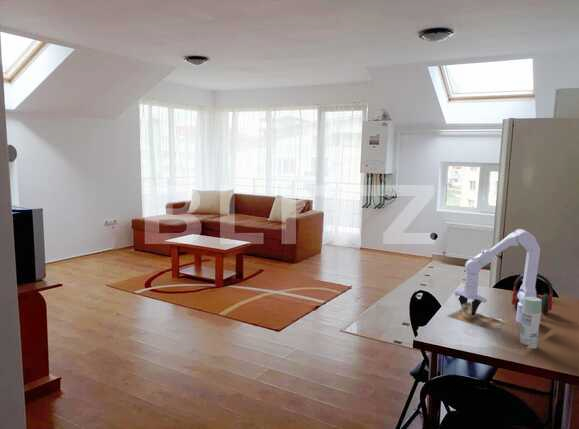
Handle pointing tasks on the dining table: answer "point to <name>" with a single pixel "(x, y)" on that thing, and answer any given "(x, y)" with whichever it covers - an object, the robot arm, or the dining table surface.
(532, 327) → the spray paint can
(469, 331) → the dining table surface
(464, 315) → the block
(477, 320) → the walnut board
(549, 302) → the headphones
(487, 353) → the dining table surface
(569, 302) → the dining table surface
